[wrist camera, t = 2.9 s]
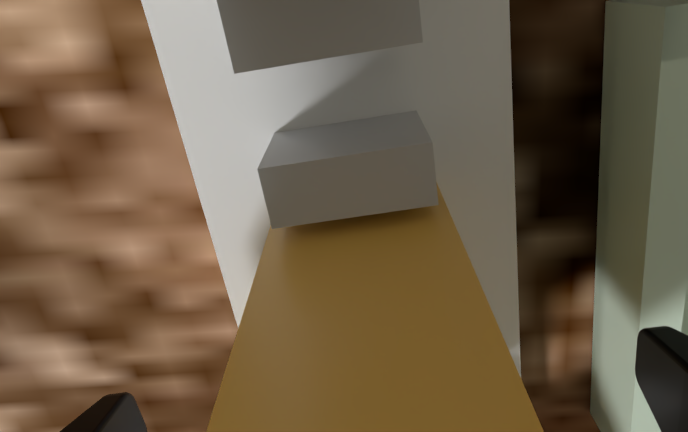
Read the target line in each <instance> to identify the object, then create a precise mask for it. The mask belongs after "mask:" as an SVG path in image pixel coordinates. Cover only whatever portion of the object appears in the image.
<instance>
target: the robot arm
mask: <svg viewBox="0 0 688 432" xmlns="http://www.w3.org/2000/svg"><path fill="white" fill-rule="evenodd" d="M635 375H636V379H637V382H638V384H639V387H640V389H641V391H642V393H643V395H644V397H645V399H646V401H647V403H648V405H649V407H650V409H651V411H652V413H653V416H654V418H655V420H656V422H657V424H658V426H659V428H660V430H661V432H688V335H686V334H684V333H682V332H680V331H678V330H676V329H674V328H671V327H669V326H658V327H650V328H644V329H642V330H640V331H639V333H638V337H637V348H636V361H635ZM60 432H147V428H146V425H145V422H144V420H143V418H142V415H141V413H140V410H139V408H138V406H137V403H136V401H135V399H134V397H133V396H132V395H131V394H130V393H127V392H124V393H116V394H109V395H106V396H104V397H102V398H101V399H100V400H99V401H97V402H96V403H95V404H94V405H92V406H91V407H90V408H89V409H87V410H86V411H85V412H84V413H82V414H81V415H80V416H79V417H77V418H76V419H75V420H74V421H72V422H71V423H70V424H69V425H67V426H66V427H65V428H64V429H62V430H61V431H60Z"/></svg>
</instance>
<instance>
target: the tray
mask: <svg viewBox="0 0 688 432" xmlns="http://www.w3.org/2000/svg"><path fill="white" fill-rule="evenodd" d="M658 326H669V327H671V328H674V329H676V330H678V331H680V332H682V333H684V334H686V335H688V0H609V1H606V4H605V30H604V56H603V82H602V108H601V135H600V161H599V187H598V213H597V240H596V266H595V292H594V318H593V345H592V371H591V397H590V414H591V415H592V417H593V419H594V421H595V423H596V425H597V426H598V428H599V430H600V432H661V430H660V428H659V426H658V424H657V422H656V420H655V418H654V416H653V413H652V411H651V409H650V407H649V405H648V403H647V401H646V399H645V397H644V395H643V393H642V391H641V389H640V387H639V384H638V382H637V379H636V375H635V361H636V348H637V337H638V333H639V331H640V330H642V329H644V328H650V327H658Z"/></svg>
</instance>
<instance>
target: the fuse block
mask: <svg viewBox="0 0 688 432" xmlns="http://www.w3.org/2000/svg"><path fill="white" fill-rule="evenodd" d="M141 1H142V5H143V8H144V11H145V15H146V18H147V22H148V25H149V28H150V32H151V35H152V39H153V42H154V45H155V49H156V52H157V55H158V59H159V62H160V66H161V69H162V72H163V76H164V79H165V82H166V86H167V89H168V93H169V96H170V99H171V103H172V106H173V110H174V113H175V116H176V120H177V123H178V126H179V130H180V133H181V137H182V140H183V143H184V147H185V150H186V153H187V157H188V160H189V164H190V167H191V170H192V174H193V177H194V180H195V184H196V187H197V191H198V194H199V197H200V201H201V204H202V208H203V211H204V214H205V218H206V221H207V224H208V228H209V231H210V235H211V238H212V241H213V245H214V248H215V251H216V255H217V258H218V262H219V265H220V268H221V272H222V275H223V279H224V282H225V285H226V289H227V292H228V295H229V299H230V302H231V306H232V309H233V312H234V316H235V319H236V322H237V326H238V328H239V325H240V322H241V319H242V315H243V312H244V309H245V306H246V303H247V299H248V296H249V293H250V290H251V286H252V283H253V280H254V277H255V274H256V270H257V267H258V264H259V261H260V258H261V254H262V251H263V248H264V245H265V241H266V238H267V235H268V232H269V229H270V225H271V228H272V229H276V228H283V227H289V226H296V225H303V224H310V223H317V222H324V221H331V220H338V219H345V218H352V217H359V216H366V215H373V214H380V213H387V212H393V211H400V210H407V209H414V208H421V207H428V206H435V205H439V204H438V194H437V184H438V187H439V189H440V191H441V194H442V196H443V198H444V200H445V203H446V205H447V207H448V210H449V212H450V214H451V217H452V219H453V221H454V224H455V226H456V228H457V231H458V233H459V235H460V238H461V240H462V242H463V245H464V247H465V249H466V252H467V254H468V256H469V259H470V261H471V263H472V266H473V268H474V270H475V273H476V275H477V277H478V280H479V282H480V284H481V287H482V289H483V291H484V294H485V296H486V298H487V301H488V303H489V305H490V308H491V310H492V312H493V314H494V317H495V319H496V321H497V324H498V326H499V328H500V331H501V333H502V335H503V338H504V340H505V342H506V345H507V347H508V349H509V352H510V354H511V356H512V359H513V361H514V363H515V366H516V368H517V370H518V373H519V375H520V377H521V362H520V330H519V298H518V266H517V234H516V202H515V170H514V137H513V105H512V73H511V41H510V9H509V0H141ZM436 182H437V183H436Z"/></svg>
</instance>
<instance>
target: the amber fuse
mask: <svg viewBox="0 0 688 432" xmlns="http://www.w3.org/2000/svg"><path fill="white" fill-rule="evenodd" d="M436 183H437V182H436ZM437 194H438V204H439V205H435V206H428V207H421V208H414V209H407V210H400V211H393V212H387V213H380V214H373V215H366V216H359V217H352V218H345V219H338V220H331V221H324V222H317V223H310V224H303V225H296V226H289V227H283V228H276V229H272V228H271V225H270V229H269V232H268V235H267V238H266V241H265V245H264V248H263V251H262V254H261V258H260V261H259V264H258V267H257V270H256V274H255V277H254V280H253V283H252V286H251V290H250V293H249V296H248V299H247V303H246V306H245V309H244V312H243V315H242V319H241V322H240V325H239V328H238V331H237V335H236V338H235V341H234V344H233V348H232V351H231V354H230V357H229V360H228V364H227V367H226V370H225V373H224V377H223V380H222V383H221V386H220V389H219V393H218V396H217V399H216V402H215V405H214V409H213V412H212V415H211V418H210V422H209V425H208V428H207V431H206V432H544V431H543V429H542V426H541V424H540V422H539V419H538V417H537V415H536V412H535V410H534V408H533V405H532V403H531V401H530V398H529V396H528V394H527V391H526V389H525V387H524V384H523V382H522V380H521V377H520V375H519V373H518V370H517V368H516V366H515V363H514V361H513V359H512V356H511V354H510V352H509V349H508V347H507V345H506V342H505V340H504V338H503V335H502V333H501V331H500V328H499V326H498V324H497V321H496V319H495V317H494V314H493V312H492V310H491V308H490V305H489V303H488V301H487V298H486V296H485V294H484V291H483V289H482V287H481V284H480V282H479V280H478V277H477V275H476V273H475V270H474V268H473V266H472V263H471V261H470V259H469V256H468V254H467V252H466V249H465V247H464V245H463V242H462V240H461V238H460V235H459V233H458V231H457V228H456V226H455V224H454V221H453V219H452V217H451V214H450V212H449V210H448V207H447V205H446V203H445V200H444V198H443V196H442V194H441V191H440V189H439V187H438V184H437Z"/></svg>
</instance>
